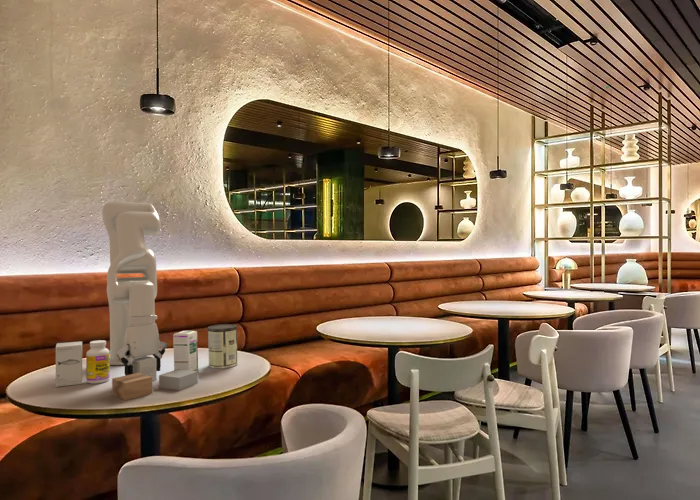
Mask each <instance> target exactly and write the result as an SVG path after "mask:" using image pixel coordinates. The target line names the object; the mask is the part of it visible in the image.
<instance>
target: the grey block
mask: <svg viewBox="0 0 700 500" xmlns="http://www.w3.org/2000/svg"><path fill="white" fill-rule="evenodd" d="M198 374H199V370H198V371H189V370H181V369H177V370H174V369H173V370H170V371H167V372H165V373H162V374H159V375H158V388H160V389H161V388H162V389H168V390H177V391H182V390H183V389H186V388H189V387H191V386H194V385H197V384H198V383H199V381H198Z"/></svg>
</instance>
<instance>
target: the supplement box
mask: <svg viewBox="0 0 700 500" xmlns="http://www.w3.org/2000/svg"><path fill="white" fill-rule="evenodd" d="M82 384H83V341H70V342H57V343H56V345H55V388H59V387H66V386H74V385H75V386H76V385H82Z"/></svg>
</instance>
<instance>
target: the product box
mask: <svg viewBox="0 0 700 500" xmlns="http://www.w3.org/2000/svg"><path fill="white" fill-rule="evenodd" d="M131 365H133V374H135V373H141V374H144V375H147V376H151V377H152V382H155V381H157V378H158V377H157V376H158V375H157V371H156V358H154V356H144V357H139V358H135V359H134V360H133V362H132V363H131Z"/></svg>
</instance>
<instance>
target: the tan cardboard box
mask: <svg viewBox="0 0 700 500" xmlns="http://www.w3.org/2000/svg"><path fill="white" fill-rule="evenodd" d="M111 383H112V386H111V387H112V388H111V389H112V392H111V393H112V396H115V397H116V398H120V399H122V400H125V401H127V400H131V399H135V398H139V397H144V396H147V395H151V394H153V381H152V377H151V376H147V375H144V374H141V373H135V374H131V375H126V376H125V375H122V376H117V377H112V378H111Z"/></svg>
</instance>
